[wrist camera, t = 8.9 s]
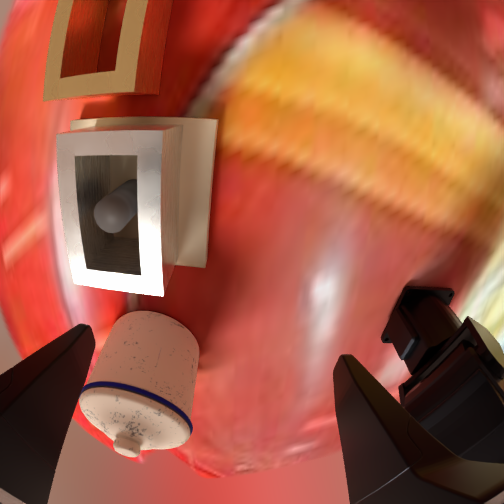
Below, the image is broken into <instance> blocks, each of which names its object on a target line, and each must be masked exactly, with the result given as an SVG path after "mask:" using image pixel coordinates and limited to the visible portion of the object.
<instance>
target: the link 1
mask: <svg viewBox="0 0 504 504" xmlns="http://www.w3.org/2000/svg"><path fill="white" fill-rule="evenodd" d="M108 3H109V0H59V1H58V5H57V9H56V13H55V18H54V22H53V27H52V32H51V37H50V43H49V49H48V56H47V63H46V72H45V81H44V94H43V101H54V100H69V99H84V98H94V97H105V96H120V95H144V94H159V90H160V81H161V73H162V65H163V57H164V50H165V43H166V37H167V31H168V25H169V19H170V14H171V9H172V4H173V0H127V3H126V8H125V13H124V17H123V23H122V28H121V34H120V40H119V46H118V53H117V60H116V68H115V71H108V72H99V73H97V66H98V58H99V51H100V44H101V38H102V32H103V27H104V22H105V17H106V12H107V7H108Z"/></svg>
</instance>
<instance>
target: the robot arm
mask: <svg viewBox="0 0 504 504" xmlns="http://www.w3.org/2000/svg"><path fill="white" fill-rule="evenodd" d="M407 292H408V293H407ZM453 296H454V291H453V290H452V289H450V288H432V287H414V286H407V287H405V288H404V290H403V291H402V294H401V296H400V298H399V300H398V303H397V305H396V307H395V309H394V312H393V314H392V316H391V318H390V320H389V322H388V324H387V326H386V328H385V330H384V332H383V334H382V336H381V340H382V342H383V343H393V345H394V347H395V349H396V351H397V353H398V355H399V357H400V359H401V360H404V361H405V363H406V365H407V368H408V370H409V372H410V374H411V375H412V376H411V377H410V378H409V379H408V380H407V381H406V382H405V383H402V384H401V385H400V386H399V387H398V388H399V396H400V403H401V405H400V403H399V402H398V401H397V400H396V399H395V398H394V397H393V396H392V395H391V394H390V393H389V392H388V391H387V390H386V389H385V388H384V387H383V386H382V385H381V384H380V383H379V382H378V381H377V380H376V379H375V378H374V377H373V376H372V375H371V374H370V373H369V372H368V371H367V369H366V368H365V367H364V366H363V365H362V364H361V363H360V362H359V361H358V360H357V359H356V358H355V357H354V356H353V355H351V354H342V355H340V357H339V359H338V361H337V363H336V365H335V368H334V370H333V382H334V397H335V411H336V417H337V423H338V428H339V434H340V440H341V446H342V452H343V459H344V465H345V472H346V478H347V485H348V493H349V500H350V504H504V353H503V351H502V348H501V346H500V344H499V343H498V342H497V340H496V339H495V338H494V337H493V336H492V334H491V333H490V332H489V331H488V330H487V329H486V328H485V327H483V326H482V325H481V324H479V323H478V322H476V321H475V320H473V319H472V318H470V317H469V316H467V317H466V319H465V320H464V322H463V324H462V322H461V321H460V320H459V318H458V317H457V316H456V314H455V313H454V312H453V310H452V309H451V308H450V307H449V304H450V302H451V300H452V298H453ZM94 349H95V339H94V335H93V332H92V328H91V327H90V326H89V325H86V324H78V325H77V326H75V327H74V328H72V329H70V330H69V331H67V332H66V333H64V334H63V335H61V336H59V337H58V338H56V339H55V340H53V341H52V342H50V343H48V344H47V345H45V346H44V347H42V348H41V349H39V350H38V351H36V352H35V353H33V354H31V355H30V356H28V357H27V358H25V359H24V360H22V361H21V362H19V363H18V364H16V365H15V366H14V367H13V368H10V369H9V370H7V371H6V372H4V373H2V374H1V375H0V504H23V502H24V503H26V504H47V503H48V499H49V494H50V490H51V486H52V482H53V478H54V474H55V469H56V466H57V463H58V459H59V456H60V453H61V449H62V446H63V443H64V440H65V437H66V434H67V431H68V428H69V425H70V422H71V419H72V416H73V413H74V410H75V407H76V405H77V402H78V399H79V397H80V394H81V391H82V389H83V386H84V383H85V381H86V377H87V374H88V370H89V366H90V363H91V359H92V356H93V353H94Z"/></svg>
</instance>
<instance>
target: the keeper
mask: <svg viewBox="0 0 504 504" xmlns="http://www.w3.org/2000/svg"><path fill="white" fill-rule="evenodd" d="M218 120H219V119H208V118H191V117H156V116H139V117H106V118H89V119H78V120H72V121H71V124H70V131H72V130H76V129H81V128H85V127H90V126H95V125H116V124H178V125H183V134H182V148H181V165H180V186H179V222H178V260H177V262H176V265H182V266H191V267H201V268H205V267H206V262H207V252H208V236H209V221H210V207H211V194H212V182H213V170H214V159H215V149H216V139H217V129H218ZM137 156H138V155H110V177H111V193H110V194H108V195H107V196H106V197H104V198H103V199H102V200H100V201H99V202H98V203H97V204H96V206H95V209H94V217H95V220H96V223H97V224H98V226H99V227H100V228H101V229H102V230H104V231H106V232H108V233H114V237H125V238H136V239H139V229H138V201H137Z"/></svg>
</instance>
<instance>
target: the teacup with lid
mask: <svg viewBox="0 0 504 504" xmlns="http://www.w3.org/2000/svg"><path fill="white" fill-rule="evenodd" d="M198 362H199V346H198V343H197V341H196V339H195V337H194V336H193V334H192V333H191V332H190V331H189V330H188V329H187V328H186V327H185V326H184V325H182V324H181V323H180V322H178V321H177V320H175V319H173V318H171V317H169V316H166V315H164V314H161V313H157V312H152V311H134V312H130V313H127V314H125V315H123V316H122V317H120V318H119V319H118V320H117V321H116V322H115V324H114V325H113V328H112V330H111V332H110V334H109V336H108V338H107V340H106V342H105V344H104V346H103V349H102V351H101V353H100V355H99V357H98V360H97V362H96V364H95V366H94V369H93V371H92V373H91V375H90V378H89V380H88V382H87V385H85V386H84V387H83V389H82V391H81V394H80V397H79V398H80V399H79V402H80V407H81V410H82V412H83V414H84V415H85V416H86V418H87V419H88V420H89V421H90V422H91V423H92V424H93V425H94V426H96V427H97V428H98V429H100V430H101V431H103V432H104V433H105V434H106V435H107V436H108V437H109V438H111V439H112V440H113V441H114V443H113V447H114V449H115V450H116V451H117V452H118V453H120V454H122V455H125V456H128V457H137V456H138V455H139V454H140V450H150V449H170V448H175V447H178V446H180V445H182V444H184V443H185V442H186V441H187V440H188V439H189V437H190V435H191V433H192V430H193V426H192V423H191V421H190V420H191V412H192V405H193V397H194V390H195V383H196V375H197V368H198Z"/></svg>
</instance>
